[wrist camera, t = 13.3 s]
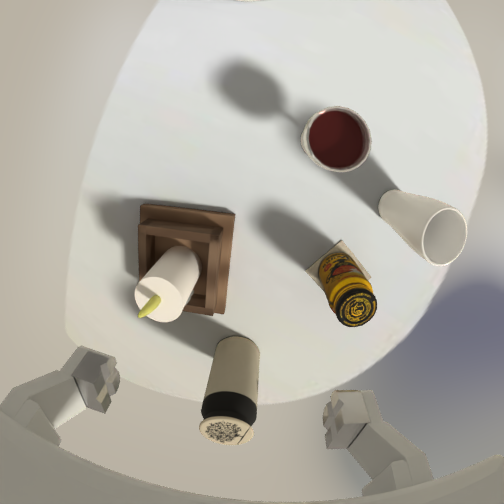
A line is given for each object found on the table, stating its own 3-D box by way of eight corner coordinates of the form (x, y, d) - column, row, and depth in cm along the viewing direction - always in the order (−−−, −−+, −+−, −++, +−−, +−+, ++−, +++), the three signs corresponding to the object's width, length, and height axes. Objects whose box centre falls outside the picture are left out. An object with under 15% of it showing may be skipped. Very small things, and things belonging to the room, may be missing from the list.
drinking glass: (364, 212, 39) (409, 247, 25) (388, 175, 37) (443, 193, 23) (395, 235, 40) (445, 277, 26) (418, 200, 38) (476, 228, 24)
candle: (190, 292, 44) (160, 354, 30) (155, 269, 42) (112, 323, 29) (210, 261, 42) (184, 319, 28) (173, 237, 40) (129, 284, 26)
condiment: (341, 239, 41) (366, 274, 30) (371, 276, 43) (399, 317, 32) (304, 270, 43) (316, 313, 32) (336, 304, 45) (353, 351, 34)
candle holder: (144, 203, 40) (129, 211, 36) (235, 214, 40) (230, 223, 36) (145, 295, 46) (134, 310, 41) (225, 309, 46) (220, 326, 41)
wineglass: (294, 165, 37) (306, 172, 26) (292, 117, 35) (303, 104, 24) (342, 165, 37) (372, 174, 26) (341, 118, 35) (370, 107, 23)
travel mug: (209, 356, 50) (189, 434, 33) (227, 328, 48) (209, 410, 31) (247, 372, 51) (239, 451, 34) (267, 346, 48) (266, 429, 32)
